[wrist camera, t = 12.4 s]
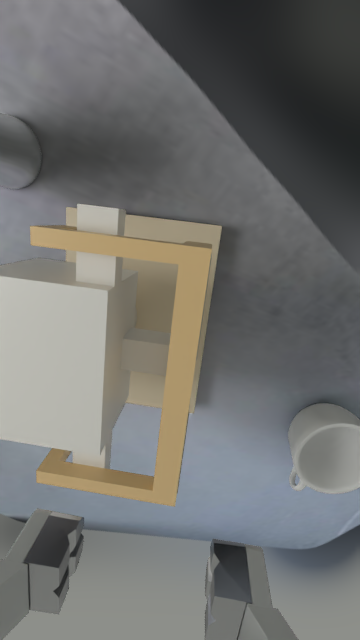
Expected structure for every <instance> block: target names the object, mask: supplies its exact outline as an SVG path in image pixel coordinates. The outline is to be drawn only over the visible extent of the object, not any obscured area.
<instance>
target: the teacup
mask: <svg viewBox="0 0 360 640" xmlns="http://www.w3.org/2000/svg"><path fill="white" fill-rule="evenodd" d="M288 439H289V444H290V449H291V454H292V460H293V464H294V466H293V469H292V471H291V474H290V478H289V482H290V485H291V487H292V488H293V489H294V490H296V491H301V490H303V489H304V488H305V487H306V486H308V487H310V488H311V489H313V490H316V491H318V492H322V493H327V494H340V493H346V492H350V491H353V490H355V489H358V488H360V419H359V418H358V417H356V416H355V415H354V414H353V413H351V412H350V411H348V410H346V409H345V408H343V407H341V406H338V405H335V404H329V403H319V404H314V405H310V406H308V407H306V408H304V409H303V410H301V411H300V412H299V413H298V414H297V415H296V416H295V417H294V419H293V420H292V422H291V424H290V427H289V431H288ZM296 474H297V475H298V477H299V478H300V481H299V483H298V485H296V484H295V477H296Z"/></svg>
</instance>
